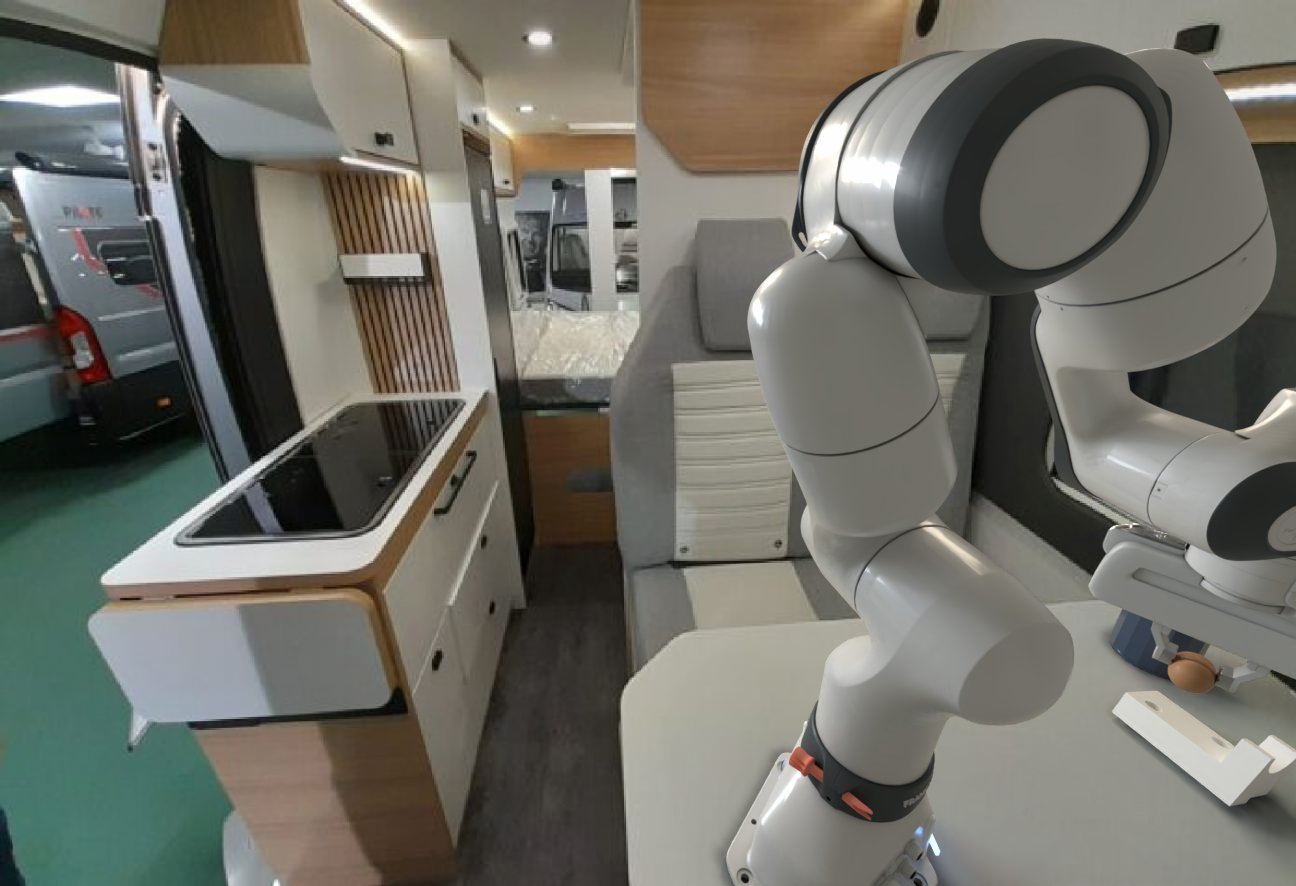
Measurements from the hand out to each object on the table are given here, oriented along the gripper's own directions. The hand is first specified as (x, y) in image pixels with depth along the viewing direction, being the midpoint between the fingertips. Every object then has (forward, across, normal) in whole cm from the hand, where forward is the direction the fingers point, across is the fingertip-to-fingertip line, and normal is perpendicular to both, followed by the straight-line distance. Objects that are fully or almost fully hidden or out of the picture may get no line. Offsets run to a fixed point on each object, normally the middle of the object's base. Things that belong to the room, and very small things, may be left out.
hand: (1192, 672), depth 55 cm
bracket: (+20, +5, +14) cm, 25 cm away
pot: (+20, -1, +32) cm, 38 cm away
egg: (+2, 0, 0) cm, 2 cm away
